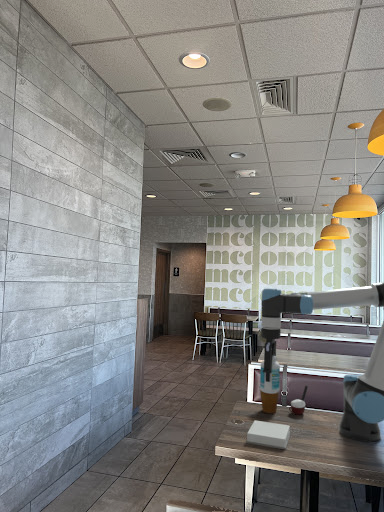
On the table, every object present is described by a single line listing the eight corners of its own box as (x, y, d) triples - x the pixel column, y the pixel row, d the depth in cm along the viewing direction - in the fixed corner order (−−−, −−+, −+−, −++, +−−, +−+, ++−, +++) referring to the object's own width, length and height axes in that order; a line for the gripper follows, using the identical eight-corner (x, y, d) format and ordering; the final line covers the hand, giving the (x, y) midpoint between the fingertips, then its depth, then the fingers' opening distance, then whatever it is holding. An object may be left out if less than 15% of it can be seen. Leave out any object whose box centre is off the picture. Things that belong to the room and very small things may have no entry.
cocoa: (290, 416, 171) (289, 389, 171) (287, 411, 177) (286, 385, 177) (311, 416, 170) (310, 389, 170) (307, 410, 176) (306, 385, 177)
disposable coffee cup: (280, 415, 171) (280, 388, 171) (258, 413, 173) (258, 386, 173) (279, 408, 180) (279, 382, 181) (259, 406, 182) (259, 381, 183)
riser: (290, 434, 150) (290, 425, 150) (285, 449, 136) (285, 439, 137) (254, 428, 155) (254, 420, 155) (246, 442, 141) (246, 433, 142)
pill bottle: (271, 395, 142) (271, 359, 142) (256, 390, 147) (256, 355, 148) (283, 391, 146) (283, 356, 147) (268, 387, 152) (268, 353, 153)
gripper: (265, 324, 159) (264, 379, 158) (256, 330, 140) (254, 392, 139) (283, 325, 156) (283, 381, 155) (276, 331, 137) (275, 395, 136)
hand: (269, 386), depth 147 cm, fingers closed on pill bottle, 7 cm apart
